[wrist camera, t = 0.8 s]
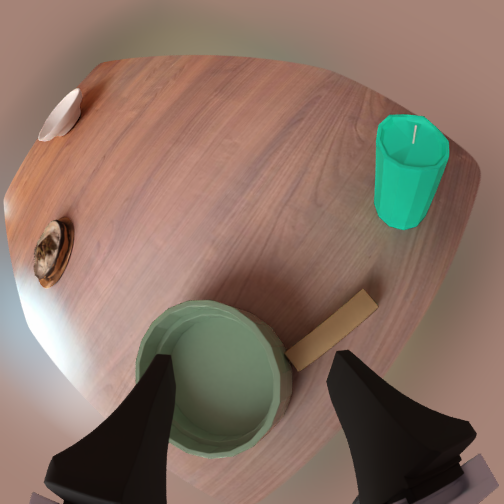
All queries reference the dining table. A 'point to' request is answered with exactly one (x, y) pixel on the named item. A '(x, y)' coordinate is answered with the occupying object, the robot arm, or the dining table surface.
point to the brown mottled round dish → (53, 251)
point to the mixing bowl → (219, 376)
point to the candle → (407, 168)
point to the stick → (332, 330)
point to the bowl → (62, 116)
